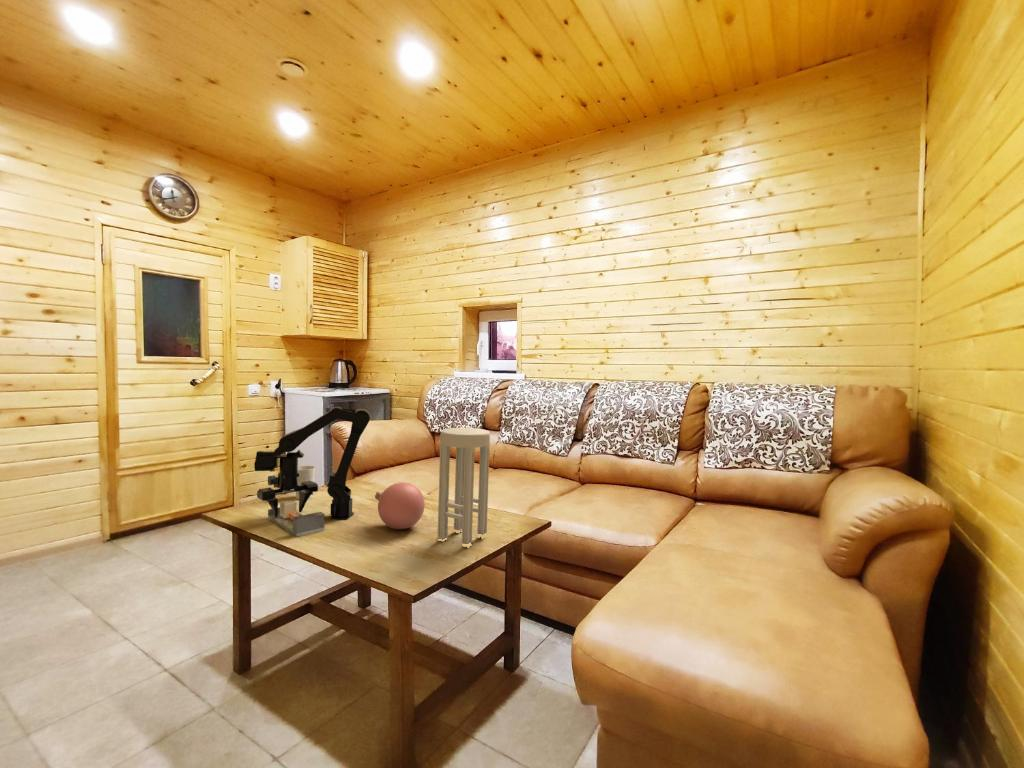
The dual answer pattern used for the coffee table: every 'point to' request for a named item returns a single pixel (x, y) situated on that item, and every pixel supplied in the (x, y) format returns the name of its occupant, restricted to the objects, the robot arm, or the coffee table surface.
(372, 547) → the coffee table surface
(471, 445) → the stool
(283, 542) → the coffee table surface
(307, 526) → the gray display stand
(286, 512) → the cream rectangular block
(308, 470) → the cup
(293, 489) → the robot arm
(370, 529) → the coffee table surface
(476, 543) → the coffee table surface
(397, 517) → the balloon
